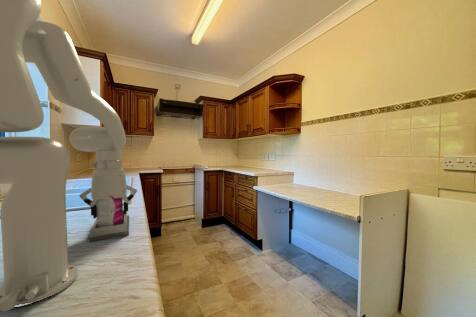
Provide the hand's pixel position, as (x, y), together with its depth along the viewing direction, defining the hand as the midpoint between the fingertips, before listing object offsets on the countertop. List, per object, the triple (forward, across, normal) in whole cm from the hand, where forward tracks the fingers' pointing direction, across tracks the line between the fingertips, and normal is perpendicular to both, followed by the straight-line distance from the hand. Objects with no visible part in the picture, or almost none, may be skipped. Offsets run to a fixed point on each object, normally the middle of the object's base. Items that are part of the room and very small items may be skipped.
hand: (110, 215), depth 70 cm
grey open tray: (+6, 0, +3) cm, 7 cm away
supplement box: (+4, 0, 0) cm, 4 cm away
